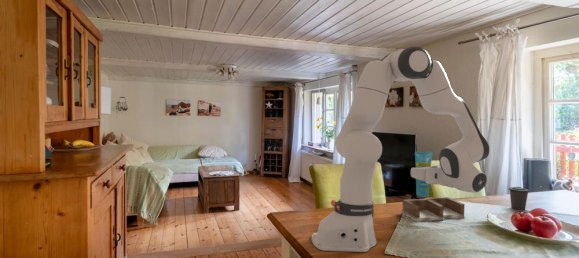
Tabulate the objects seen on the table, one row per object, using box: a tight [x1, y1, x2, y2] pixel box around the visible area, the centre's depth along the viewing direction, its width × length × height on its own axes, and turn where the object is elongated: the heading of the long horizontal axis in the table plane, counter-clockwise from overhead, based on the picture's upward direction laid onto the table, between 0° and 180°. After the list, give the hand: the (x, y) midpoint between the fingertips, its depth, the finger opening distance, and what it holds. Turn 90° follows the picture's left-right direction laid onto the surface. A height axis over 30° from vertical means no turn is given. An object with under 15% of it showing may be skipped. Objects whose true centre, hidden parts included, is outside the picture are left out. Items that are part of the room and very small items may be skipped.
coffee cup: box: [508, 186, 530, 211], centre depth 153 cm, size 8×8×10 cm
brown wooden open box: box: [402, 198, 444, 222], centre depth 140 cm, size 12×12×6 cm
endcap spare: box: [422, 196, 466, 219], centre depth 144 cm, size 12×12×6 cm
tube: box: [414, 151, 433, 198], centre depth 139 cm, size 7×5×19 cm, turn 93°
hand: (422, 169), depth 140 cm, fingers closed on tube, 6 cm apart
